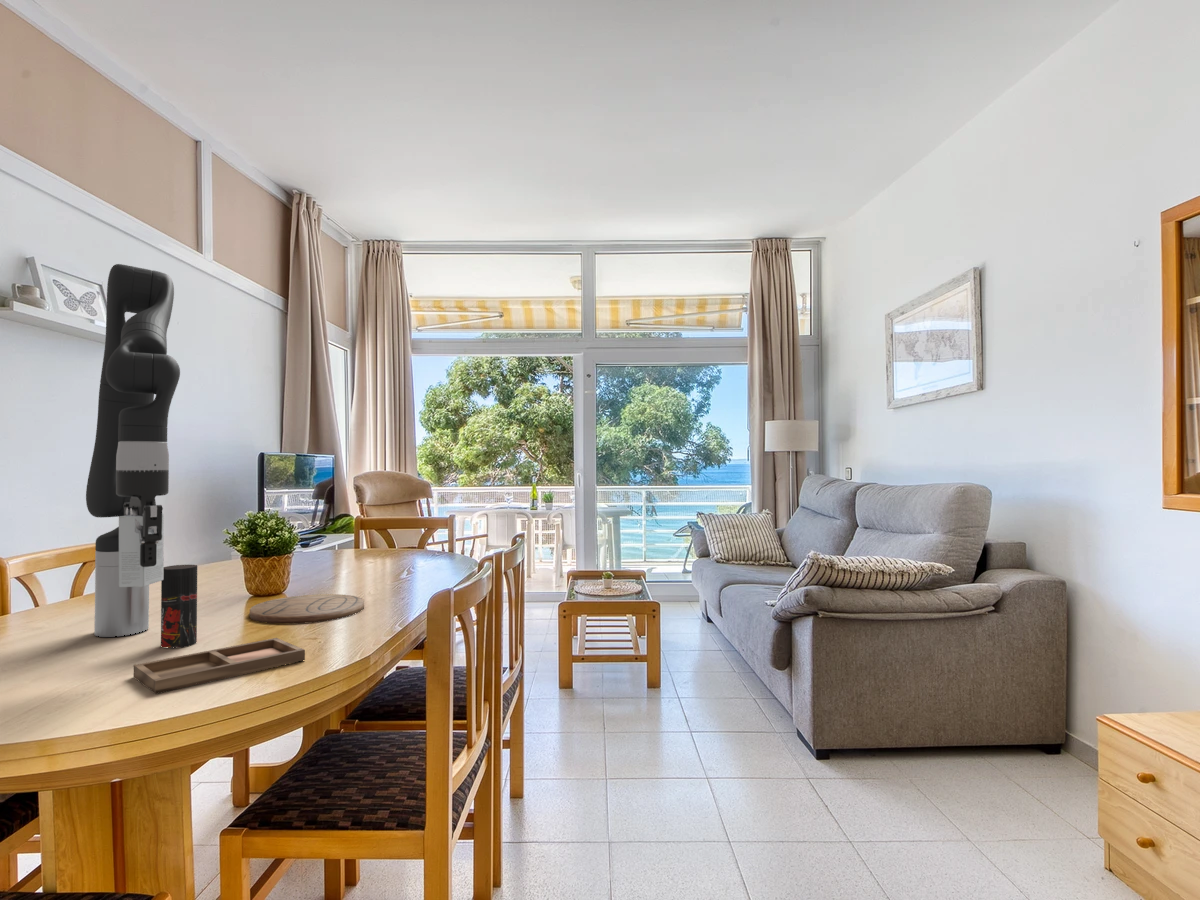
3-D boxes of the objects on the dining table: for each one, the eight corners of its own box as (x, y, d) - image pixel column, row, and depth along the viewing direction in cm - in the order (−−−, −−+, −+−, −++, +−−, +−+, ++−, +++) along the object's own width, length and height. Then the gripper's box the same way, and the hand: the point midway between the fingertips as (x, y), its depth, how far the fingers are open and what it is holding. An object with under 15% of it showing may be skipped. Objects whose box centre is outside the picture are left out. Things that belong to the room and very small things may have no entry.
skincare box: (138, 581, 119) (139, 513, 119) (164, 580, 119) (164, 512, 120) (116, 587, 113) (117, 515, 113) (143, 587, 113) (144, 515, 113)
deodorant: (203, 642, 133) (204, 565, 133) (173, 649, 127) (174, 570, 128) (184, 638, 135) (184, 563, 135) (153, 646, 130) (154, 568, 130)
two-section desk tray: (133, 677, 111) (133, 664, 111) (276, 648, 128) (276, 637, 128) (155, 694, 103) (155, 680, 103) (304, 660, 120) (304, 649, 120)
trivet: (234, 627, 146) (234, 619, 146) (267, 603, 170) (267, 596, 170) (355, 622, 150) (356, 613, 151) (370, 599, 175) (371, 592, 175)
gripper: (180, 468, 114) (179, 566, 114) (156, 467, 124) (155, 557, 124) (127, 468, 109) (126, 571, 109) (106, 468, 119) (105, 562, 118)
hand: (141, 563), depth 116 cm, fingers closed on skincare box, 7 cm apart
